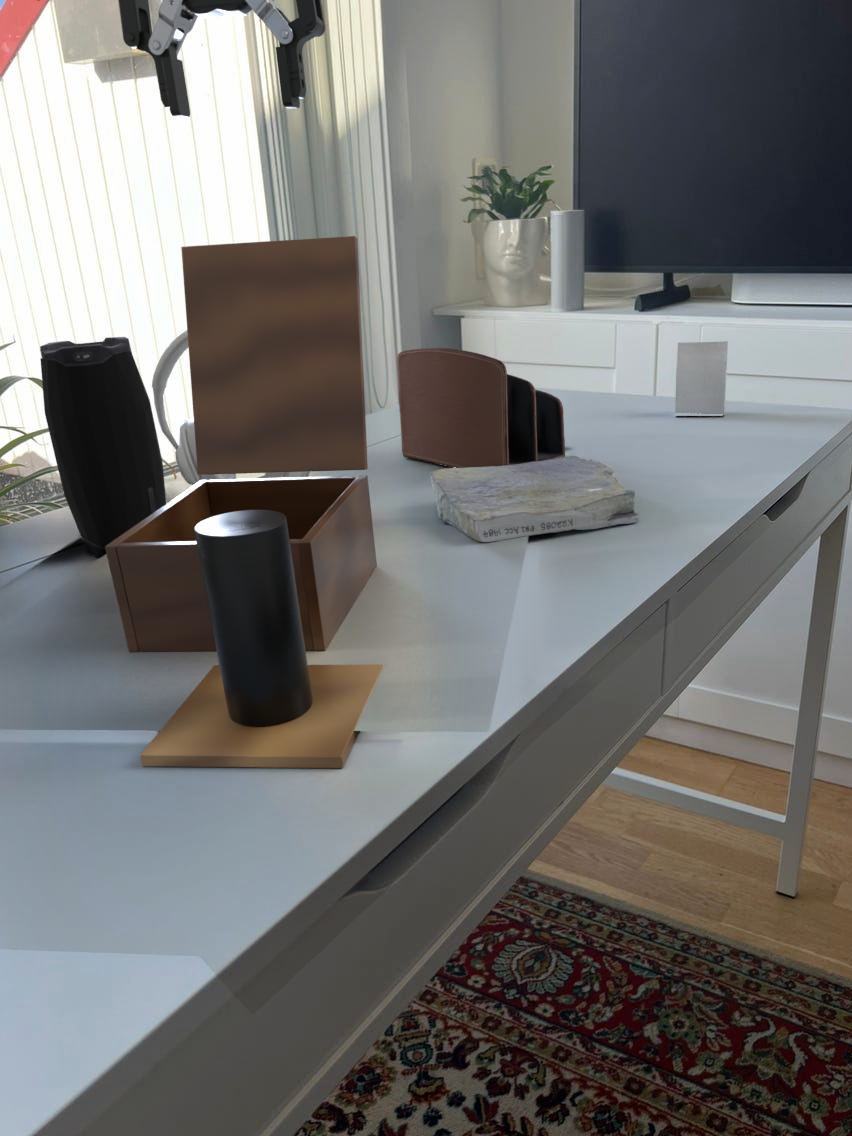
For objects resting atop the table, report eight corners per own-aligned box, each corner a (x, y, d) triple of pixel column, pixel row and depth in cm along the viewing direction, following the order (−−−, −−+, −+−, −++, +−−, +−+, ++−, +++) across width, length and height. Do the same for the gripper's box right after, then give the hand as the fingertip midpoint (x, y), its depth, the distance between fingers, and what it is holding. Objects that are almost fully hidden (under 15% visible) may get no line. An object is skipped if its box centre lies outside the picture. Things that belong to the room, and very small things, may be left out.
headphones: (342, 483, 113) (321, 305, 105) (337, 504, 105) (314, 312, 97) (183, 494, 112) (149, 316, 104) (164, 516, 104) (127, 324, 96)
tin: (216, 727, 58) (179, 537, 53) (244, 688, 62) (213, 510, 58) (299, 727, 57) (270, 535, 52) (322, 687, 62) (297, 508, 57)
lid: (355, 235, 76) (357, 238, 77) (180, 246, 78) (184, 248, 79) (365, 469, 79) (367, 469, 80) (197, 474, 81) (201, 474, 82)
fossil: (665, 526, 94) (583, 477, 108) (666, 481, 92) (583, 437, 106) (476, 568, 88) (416, 510, 102) (472, 521, 86) (412, 468, 100)
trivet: (141, 766, 56) (139, 754, 55) (216, 675, 66) (214, 664, 66) (343, 768, 54) (341, 756, 54) (385, 674, 65) (384, 663, 65)
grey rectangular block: (723, 416, 135) (727, 343, 131) (675, 417, 137) (676, 344, 133) (724, 411, 138) (728, 339, 134) (677, 412, 140) (678, 341, 136)
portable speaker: (65, 550, 95) (15, 346, 87) (153, 527, 101) (113, 333, 93) (101, 567, 89) (50, 350, 81) (192, 542, 95) (153, 337, 87)
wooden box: (326, 660, 68) (310, 542, 64) (130, 661, 69) (104, 546, 66) (378, 574, 83) (367, 474, 80) (217, 576, 85) (200, 479, 82)
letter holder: (506, 481, 109) (500, 354, 104) (401, 458, 123) (390, 344, 117) (566, 464, 115) (564, 342, 109) (460, 443, 129) (452, 334, 123)
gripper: (315, -156, 67) (342, 110, 73) (121, -134, 68) (164, 123, 75) (283, -197, 60) (315, 100, 66) (69, -171, 62) (121, 115, 68)
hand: (235, 112), depth 71 cm, fingers open, 8 cm apart
